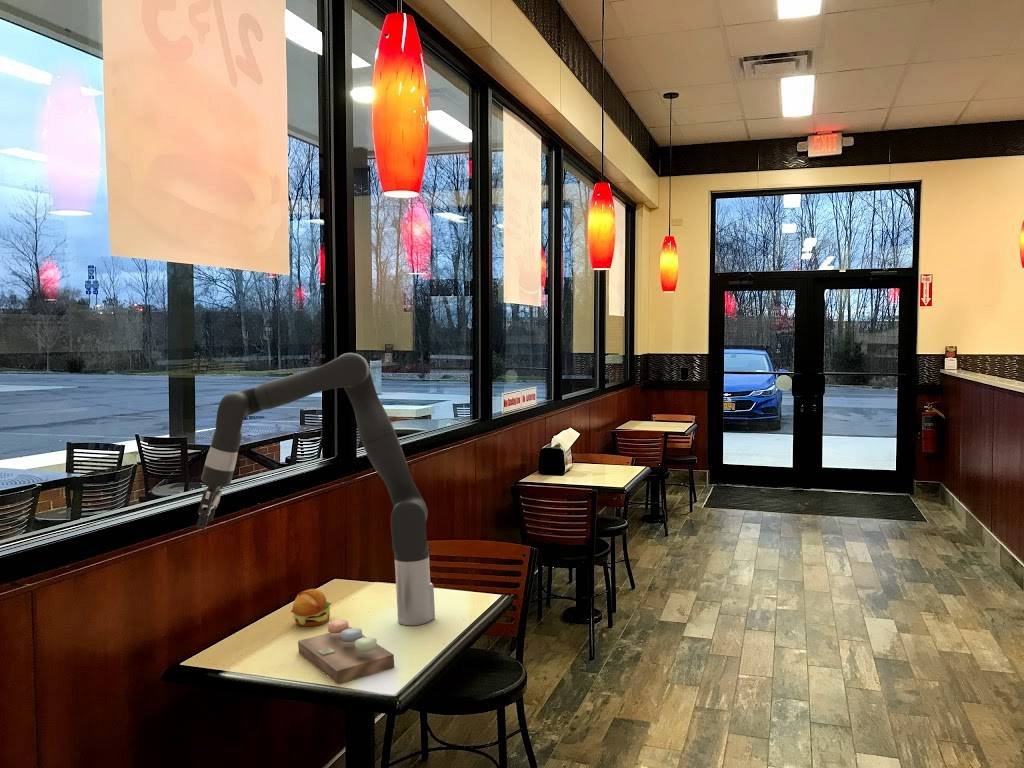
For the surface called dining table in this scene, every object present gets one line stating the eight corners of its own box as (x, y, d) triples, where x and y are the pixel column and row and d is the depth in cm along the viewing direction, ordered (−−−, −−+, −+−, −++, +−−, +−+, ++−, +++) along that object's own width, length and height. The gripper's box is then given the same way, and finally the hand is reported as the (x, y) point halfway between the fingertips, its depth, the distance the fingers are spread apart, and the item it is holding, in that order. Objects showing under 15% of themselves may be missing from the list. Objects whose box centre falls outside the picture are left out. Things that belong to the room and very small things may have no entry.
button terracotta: (343, 624, 204) (343, 618, 204) (351, 629, 200) (351, 623, 200) (325, 629, 201) (324, 623, 201) (332, 634, 197) (332, 628, 197)
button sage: (371, 642, 191) (370, 635, 191) (380, 648, 187) (380, 641, 187) (351, 647, 188) (351, 640, 188) (360, 653, 184) (360, 647, 184)
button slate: (357, 633, 198) (356, 626, 197) (365, 638, 193) (365, 632, 193) (337, 638, 195) (337, 631, 195) (346, 644, 191) (345, 637, 190)
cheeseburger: (337, 613, 226) (333, 582, 224) (325, 636, 216) (321, 604, 213) (302, 613, 227) (297, 582, 225) (289, 636, 217) (284, 603, 214)
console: (351, 638, 207) (350, 625, 207) (394, 667, 187) (393, 653, 187) (298, 652, 199) (297, 639, 199) (337, 684, 179) (336, 669, 179)
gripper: (229, 473, 207) (212, 534, 207) (238, 464, 221) (223, 521, 221) (199, 466, 206) (182, 527, 206) (211, 458, 220) (195, 515, 220)
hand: (204, 524), depth 213 cm, fingers open, 8 cm apart
